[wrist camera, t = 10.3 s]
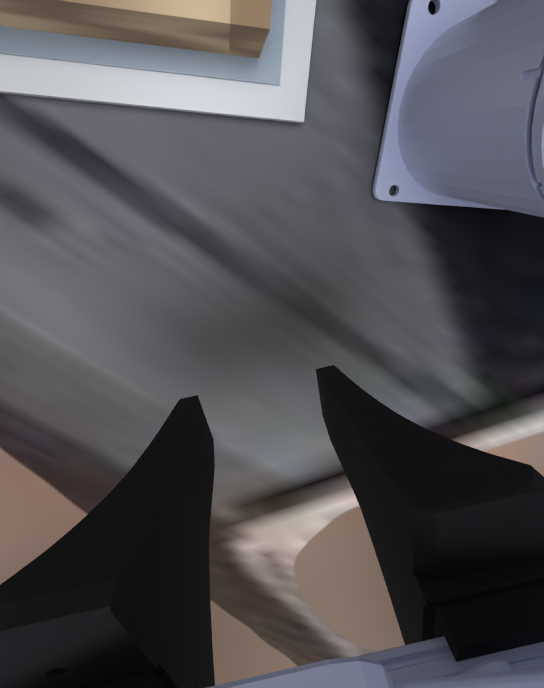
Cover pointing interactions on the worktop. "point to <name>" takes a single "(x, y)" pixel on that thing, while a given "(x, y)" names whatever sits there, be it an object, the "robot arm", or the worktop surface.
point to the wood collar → (151, 22)
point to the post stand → (168, 70)
